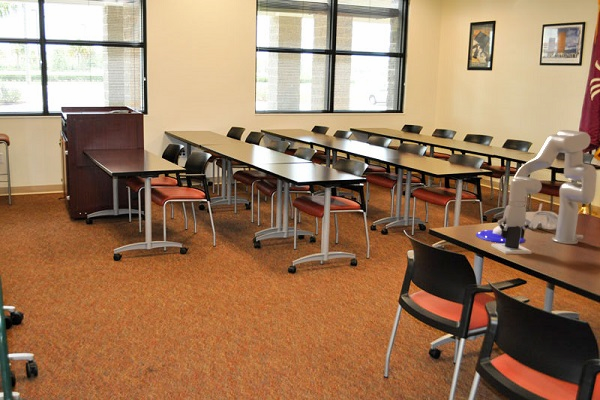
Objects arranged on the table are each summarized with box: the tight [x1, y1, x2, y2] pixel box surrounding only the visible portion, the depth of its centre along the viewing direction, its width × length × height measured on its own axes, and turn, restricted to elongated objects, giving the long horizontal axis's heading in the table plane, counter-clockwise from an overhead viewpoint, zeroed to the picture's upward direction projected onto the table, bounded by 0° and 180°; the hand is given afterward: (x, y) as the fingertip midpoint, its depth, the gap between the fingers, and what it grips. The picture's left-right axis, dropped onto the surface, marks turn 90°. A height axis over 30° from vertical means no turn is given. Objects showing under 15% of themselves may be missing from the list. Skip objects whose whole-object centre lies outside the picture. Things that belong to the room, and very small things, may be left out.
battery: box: [505, 226, 522, 248], centre depth 320 cm, size 7×4×11 cm, turn 63°
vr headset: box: [525, 203, 558, 231], centre depth 370 cm, size 18×11×14 cm, turn 100°
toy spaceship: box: [475, 225, 526, 244], centre depth 344 cm, size 25×25×7 cm
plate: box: [490, 243, 532, 255], centre depth 321 cm, size 14×14×1 cm
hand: (512, 237), depth 320 cm, fingers open, 9 cm apart
